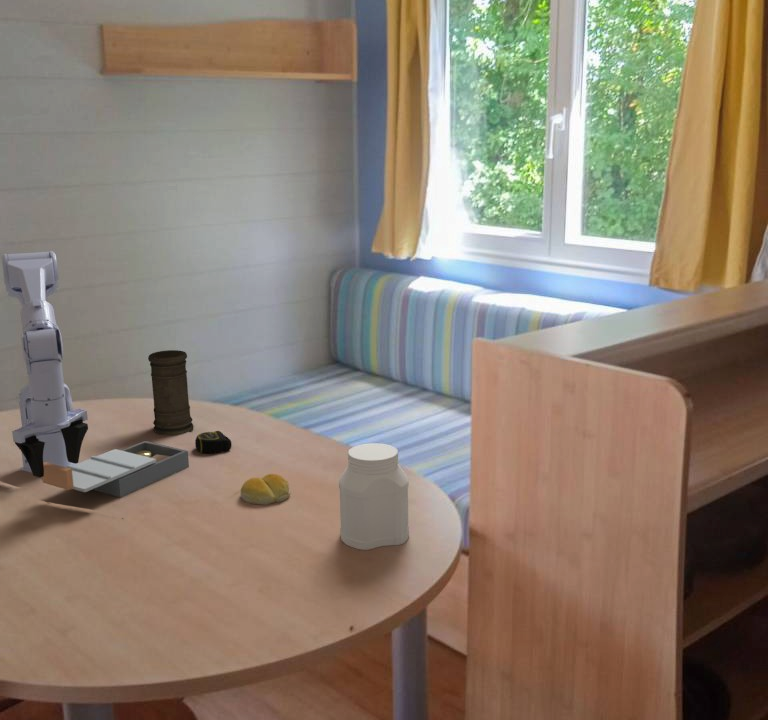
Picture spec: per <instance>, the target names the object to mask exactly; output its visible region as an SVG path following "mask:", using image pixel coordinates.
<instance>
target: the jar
mask: <svg viewBox="0 0 768 720" xmlns="http://www.w3.org/2000/svg"><path fill="white" fill-rule="evenodd" d="M347 463H348V464H347V466H346V467H345V469H344V471H343V472H342V474H341V475H340V477H339V478H338V489H339V510H340V511H339V513H340V529H339V530H340V531H339V533H340V539H341V542H342V543H344V544H345V545H347V546H348V547H351V548H353V549H356V550H360V551H368V550H373V549H377V548H381V547H388V546H400V545H403V544H404V543H406V542H407V541H408V539H409V536H410V526H409V477H408V475H407V474H406V472H405V471H404V470H403V468H402V467H401V466H400V464H399V450H398V448H396V447H395V446H393V445H390V444H386V443H378V442H375V443H372V442H371V443H363V444H362V443H361V444H358V445H354V446H353V447H351V448H350V449H349V450H347Z"/></svg>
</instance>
